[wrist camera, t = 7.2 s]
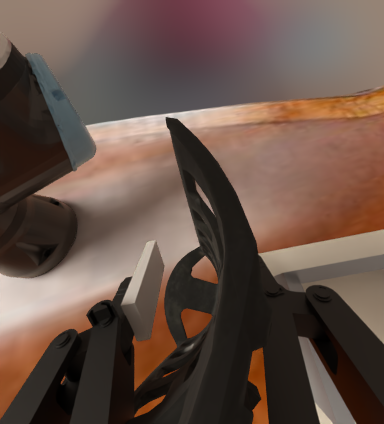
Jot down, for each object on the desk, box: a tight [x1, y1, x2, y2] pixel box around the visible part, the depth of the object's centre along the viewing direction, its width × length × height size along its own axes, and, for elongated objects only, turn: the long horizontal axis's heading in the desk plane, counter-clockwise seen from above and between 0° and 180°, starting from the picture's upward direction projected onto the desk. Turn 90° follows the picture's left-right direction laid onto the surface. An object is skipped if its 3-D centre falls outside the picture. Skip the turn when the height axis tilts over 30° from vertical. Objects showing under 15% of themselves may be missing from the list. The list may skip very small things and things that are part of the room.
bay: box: [258, 230, 384, 424], centre depth 21 cm, size 22×20×6 cm
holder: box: [127, 117, 273, 424], centre depth 13 cm, size 11×8×20 cm
